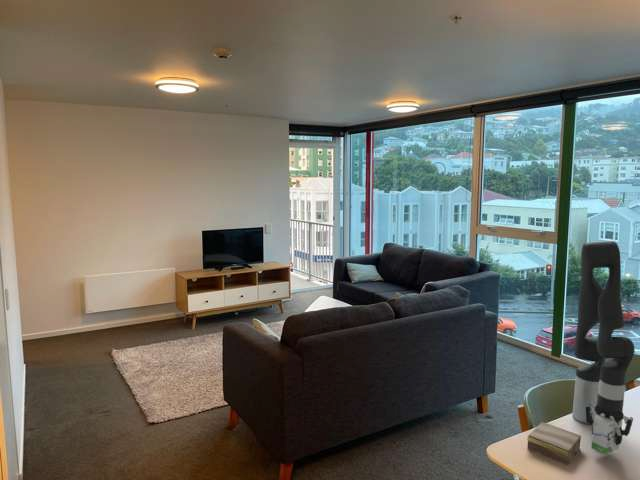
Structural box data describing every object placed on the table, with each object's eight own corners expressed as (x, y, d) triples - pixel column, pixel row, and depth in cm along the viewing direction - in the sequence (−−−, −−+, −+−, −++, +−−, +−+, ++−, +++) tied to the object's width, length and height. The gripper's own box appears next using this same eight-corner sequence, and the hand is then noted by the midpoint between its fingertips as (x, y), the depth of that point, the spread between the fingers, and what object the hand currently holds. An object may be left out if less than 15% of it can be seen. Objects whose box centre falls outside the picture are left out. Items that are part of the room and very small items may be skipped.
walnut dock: (541, 434, 174) (542, 421, 173) (579, 448, 164) (580, 435, 164) (526, 449, 164) (527, 435, 163) (566, 465, 155) (567, 451, 154)
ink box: (604, 455, 156) (608, 423, 155) (590, 448, 161) (593, 416, 159) (620, 448, 160) (623, 416, 158) (605, 441, 165) (609, 410, 163)
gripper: (638, 397, 155) (633, 444, 158) (590, 383, 165) (586, 427, 168) (633, 405, 150) (628, 453, 152) (583, 390, 160) (579, 436, 162)
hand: (606, 439), depth 160 cm, fingers closed on ink box, 6 cm apart
